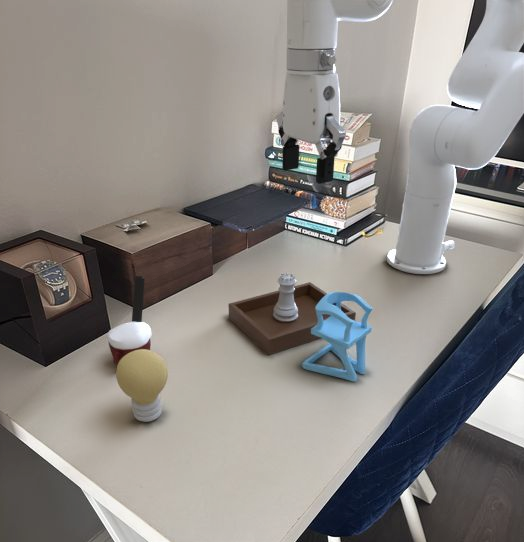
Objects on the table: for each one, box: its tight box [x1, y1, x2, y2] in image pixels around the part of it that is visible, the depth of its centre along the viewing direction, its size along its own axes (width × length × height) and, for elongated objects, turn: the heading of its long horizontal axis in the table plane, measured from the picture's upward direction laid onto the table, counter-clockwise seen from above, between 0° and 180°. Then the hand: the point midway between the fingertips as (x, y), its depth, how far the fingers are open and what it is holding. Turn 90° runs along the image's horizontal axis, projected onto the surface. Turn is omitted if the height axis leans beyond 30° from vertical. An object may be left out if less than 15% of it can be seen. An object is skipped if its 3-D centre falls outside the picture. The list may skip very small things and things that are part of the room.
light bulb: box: [115, 349, 169, 423], centre depth 66 cm, size 6×6×10 cm
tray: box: [228, 281, 357, 356], centre depth 89 cm, size 18×14×3 cm
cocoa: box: [106, 275, 153, 366], centre depth 77 cm, size 10×6×12 cm, turn 140°
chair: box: [302, 291, 374, 383], centre depth 75 cm, size 8×8×12 cm
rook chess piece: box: [273, 272, 298, 322], centre depth 88 cm, size 4×4×8 cm
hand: (306, 175), depth 88 cm, fingers open, 9 cm apart
